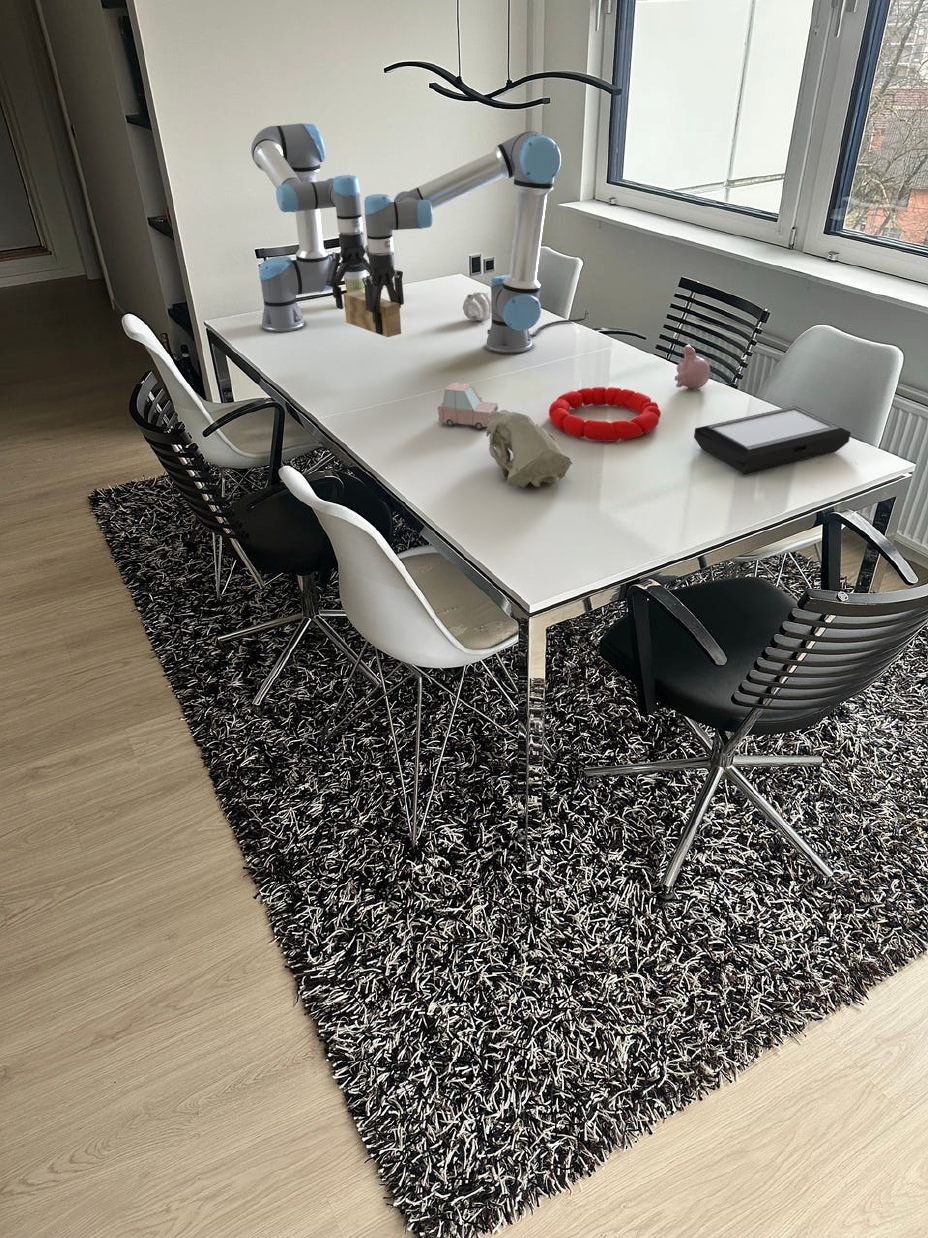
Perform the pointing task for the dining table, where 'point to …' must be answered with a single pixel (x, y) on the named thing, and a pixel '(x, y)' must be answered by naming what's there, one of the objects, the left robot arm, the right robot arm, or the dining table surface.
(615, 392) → the decorative ring
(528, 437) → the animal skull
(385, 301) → the bar
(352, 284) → the coffee cup
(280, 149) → the left robot arm
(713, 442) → the electronic device
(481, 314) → the seashell
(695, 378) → the figurine
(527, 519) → the dining table surface
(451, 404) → the toy car
